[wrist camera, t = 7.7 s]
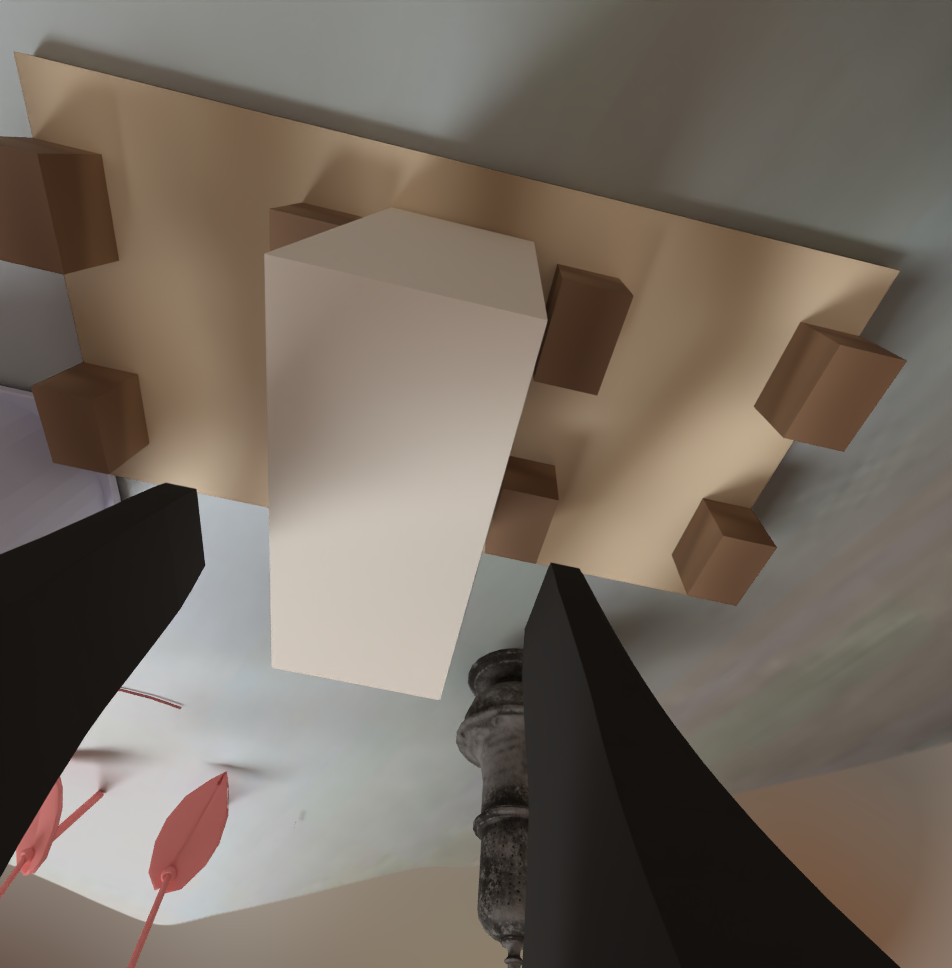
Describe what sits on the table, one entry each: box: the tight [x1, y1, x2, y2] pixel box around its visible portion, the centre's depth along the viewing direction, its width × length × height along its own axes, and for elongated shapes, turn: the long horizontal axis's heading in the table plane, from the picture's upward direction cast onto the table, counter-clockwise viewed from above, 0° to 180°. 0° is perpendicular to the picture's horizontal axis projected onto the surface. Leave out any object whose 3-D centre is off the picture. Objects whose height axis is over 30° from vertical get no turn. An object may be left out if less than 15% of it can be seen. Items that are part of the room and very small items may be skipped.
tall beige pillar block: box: [264, 207, 548, 700], centre depth 14 cm, size 4×10×9 cm, turn 168°
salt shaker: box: [456, 649, 529, 968], centre depth 23 cm, size 6×6×12 cm
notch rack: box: [0, 52, 907, 606], centre depth 18 cm, size 26×14×3 cm, turn 78°
